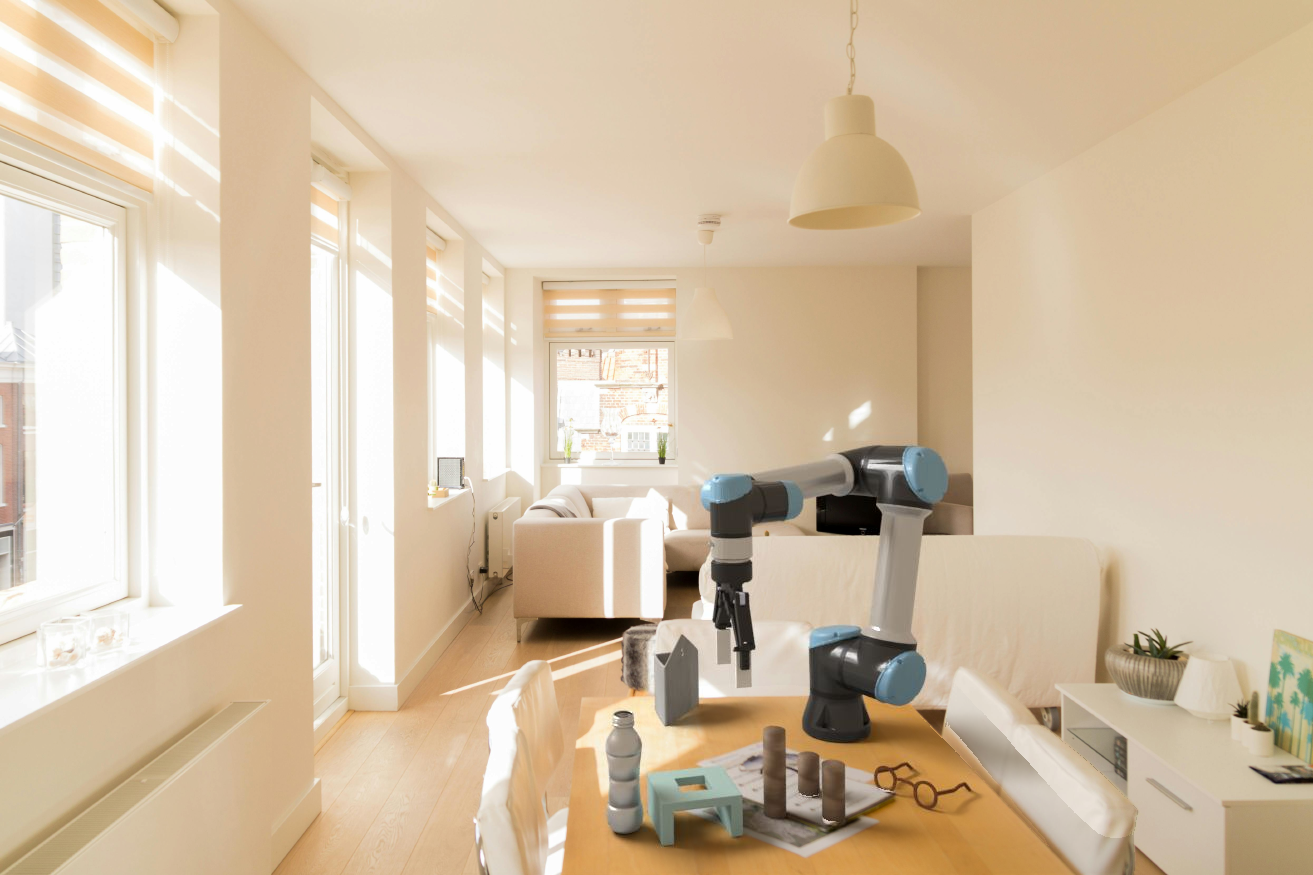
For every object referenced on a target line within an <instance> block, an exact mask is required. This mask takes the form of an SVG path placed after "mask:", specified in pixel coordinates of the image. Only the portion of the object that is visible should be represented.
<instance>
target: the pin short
mask: <svg viewBox="0 0 1313 875" xmlns="http://www.w3.org/2000/svg"><path fill="white" fill-rule="evenodd" d="M820 770H821V769H820V754H818V753H817V752H814V751H809V750H807V751H801V752H799V753H798V754H797V792H798V791H799V793H801V794H802V795H806V796H813V795H818V794H819V793H820V792H821V791H820V789H821V787H820V785H821V783H820V782H821V780H820V779H821V776H820V772H821V771H820ZM799 793H798V794H799ZM819 795H820V794H819Z"/></svg>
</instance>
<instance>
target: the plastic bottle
mask: <svg viewBox="0 0 1313 875" xmlns="http://www.w3.org/2000/svg"><path fill="white" fill-rule="evenodd" d="M634 716H635V714H634V712H633V711H631V710H617V711H615V712H613V714H612V726H613V728H612V730H611V731H610V733H609V734H608V736H607V738H606V740H605V741H606V742H605V753H606V759H607V761H606V762H607V765H608V779H609V780H608V781H609V783H608V784H609V787H608V801H607V804H606V805H607V806H606V814H605V816H606V822H607V825H608V826H609V829H611V831H612V832H614V833H618V834H623V835H624V834H626V835H627V834H631V833H635V832H637V831H639V829H640V827H641V826H642V825H643V822H644V816H645V813H644V807H643V801H642V796H641V795H642V794H641V786H640V785H641V784H640V777H641V776H640V774H641V773H640V769H641V768H640V766H641V758H642V753H643V752H642V750H643V742H642V739H641V736H640V735H639V733H638V732H637V730H636V729H635V728H634V726H635V717H634Z"/></svg>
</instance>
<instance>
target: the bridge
mask: <svg viewBox="0 0 1313 875" xmlns="http://www.w3.org/2000/svg"><path fill="white" fill-rule="evenodd" d="M646 783H647V784H646V788H647V792H646V793H647V797H646V798H647V813H648V816H649V818H650V821H651V823H652V826H653V827H654V830H655V832H656V835H657V837H658V840H659V841H660V842H659V843H661V846H662V847H664V846H665V847H666V846H674V845H675V820H674V819H675V816H674V815H675V814H674V813H675V812H681V811H683V812H685V811H693V810H700V809H707V808H713V809H714V810H715V812H716V813H717V816H718V817H719V819H720V821H721V822H722V823H723V825H724V827H725V828H726V830H727V832H728V834H729V836H730V837H731V838H733V837H734V838H735V837H742V836H743V835H744V826H743V825H744V822H743V821H744V817H743V816H744V815H743V814H744V812H743V809H744V808H743V793H742V792H741V790H740V789H739V788H738V785H736V783H735V782H734V780H733V779H732V777H731V776H730V775H729V773H728V772H727V770H726V769H725V768H724V766H723V765H722V764H720V765H711V766H701V767H692V768H684V769H675V770H674V769H673V770H665V771H655V772H648V773H646ZM694 785H705V787H706V789H703V790H702V789H700V790H694V791H693V790H692V791H684V792H682V791H681V788H680V787H685V786H694Z"/></svg>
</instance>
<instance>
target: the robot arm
mask: <svg viewBox="0 0 1313 875" xmlns="http://www.w3.org/2000/svg"><path fill="white" fill-rule="evenodd" d="M947 469H948V468H947V465H946V464H945V461H943V458H942V456H941V455H940V454H939V453H938V452H937V451H935V449H933V448H930V447H925V446H918V445H880V444H877V445H876V444H873V445H866V446H863V447H856V448H853V449H849V450H846V451H845V450H844V451H840V452H836V453H831V454H829V455H827V456H826V457H825V459H823V460H818V461H813V462H808V463H800V464H796V465H791V466H785V467H781V468H774V469H770V470H764V471H760V472H759V471H758V472H754V473H748V474H747V473H720V474H715V475H713V476H712V477H710V478H709V479H707V480H706V481H705V482H704V483H703V485H702V487H701V489H700V502H701V505H702V506H703V508H704V509H705V510H706V511H708V512H709V517H710V518H709V519H710V520H709V521H710V524H709V525H710V540H711V541H708V543H707V546H708V547H709V548H710V552H711V553H710V554H711V555H710V556H711V558H712V560H711V562H710V578H711V581H713V582H715V595H714V597H715V598H714V602H713V603H714V605H713V611H712V612H713V613H712V620H711V621H712V622H713V624H714V628H715V663H716V664H715V665H717V666H718V665H719V666H720V665H729V664H732V651H733V653H734V662H735V663H734V667H735V668H734V669H735V670H734V672H735V675H734V677H735V679H734V680H735V682H734V683H735V684H734V685H735V689H743V688H745V689H746V688H752V686H753V685H752V651H755V650H756V641H755V634H754V628H753V621H752V614H751V606H750V593H749V592H748V591H747V592H746V591H744V590H743V589H744V588H743V585H744V584H745V583H749V582H751V581H752V580H753V561H752V560H751V558H753V554H754V553H753V525H756V524H763V523H775V522H785V521H789V520H793V519H795V518H798V517H799V515H800V514H801V513H802V511H803V508H804V500H808V499H812V498H817V497H822V496H827V495H833V496H836V497H843V496H849V495H851V496H852V495H854V496H863V497H864V496H866V497H872V498H873V497H875V498H876V507H877V508H878V509H879V510H880V512H881V514H882V515H881V522H880V530H879V531H880V532H879V538H878V547H877V556H876V564H875V565H876V566H875V571H874V582H873V590H872V598H871V605H870V615H869V620H868V621H869V622H868V625H867V626H866V627H864V628H863V629H862V628H861V627H859V626H858V625H849V624H839V625H837V624H836V625H827V626H822V627H821V626H820V627H817V628H815V629H814V630H812V631H811V632H810V635H809V645H808V664H809V668H808V669H809V670H808V671H809V696H808V698H807V702H806V704H805V707H804V710H803V714H802V718H801V721H802V723H801V724H802V730H803V732H804V733H806V734H807V735H808V736H811V737H812V738H815V739H819V740H822V741H826V742H832V743H833V742H835V743H837V742H838V743H851V742H857V741H861V740H862V741H863V740H864V739H866V738H868V737H870V735H871V732H872V720H871V718H870V715H869V712H868V710H867V706H866V703H865V700H864V696H865V697H868V698H870V699H873V700H876V701H878V702H880V703H881V704H888V705H892V706H896V707H899V706H901V707H902V706H906V705H907V704H909V703H911V702H912V701H914V700H915V698H916V697H917V696H918V695H919V694H920V693H921V692H922V691H921V690H922V689H923V687H924V685H925V681H926V677H927V664H926V663H925V659H924V657H923V655H922V654H920V653H919V652H917V651H918V650H917V647H918V640H917V639H916V638H915V636H914V635H913V633H912V626H913V619H914V618H913V616H914V609H915V608H914V607H915V601H916V600H915V598H916V591H917V590H916V589H917V582H918V572H919V564H920V556H921V546H922V541H923V540H922V539H923V538H922V537H923V531H924V530H923V529H924V522H925V521H924V520H925V519H926V518H927V517H928V516H929V515H931V514H933V509H934V504H936V503H938V502H940V501H941V500H943V498H944V495H946V493H947V491H948V486H949V474H948V470H947ZM730 628H732V632H733V634H734V635H733V636H734V640H735V645H736V646H734V647H733V649H731V648H732V647H731V646H732V643H731V642H732V641H731V638H732V636H731V633H732V632H731V629H730Z"/></svg>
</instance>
